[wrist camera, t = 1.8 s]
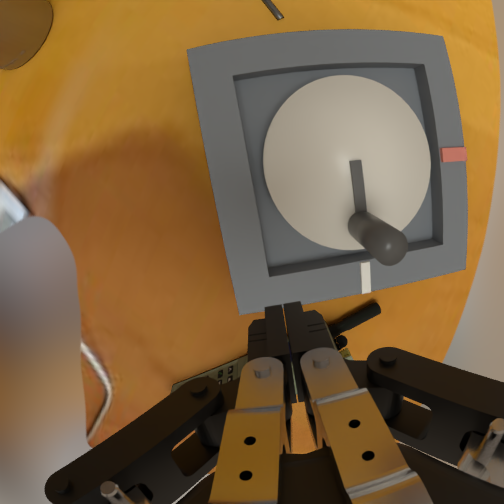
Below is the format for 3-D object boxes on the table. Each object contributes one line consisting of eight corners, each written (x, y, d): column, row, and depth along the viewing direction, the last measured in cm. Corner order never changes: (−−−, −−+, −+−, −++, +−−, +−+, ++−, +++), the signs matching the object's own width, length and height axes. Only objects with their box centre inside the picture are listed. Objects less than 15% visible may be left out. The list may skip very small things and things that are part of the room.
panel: (195, 62, 24) (185, 48, 20) (422, 46, 23) (445, 35, 18) (241, 294, 30) (239, 317, 26) (445, 255, 29) (467, 270, 25)
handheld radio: (168, 381, 34) (370, 287, 31) (185, 398, 36) (379, 311, 32) (157, 422, 28) (395, 322, 24) (177, 439, 29) (403, 347, 25)
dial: (248, 89, 23) (246, 64, 15) (408, 77, 22) (456, 60, 14) (278, 256, 27) (287, 297, 20) (425, 230, 26) (472, 258, 19)
